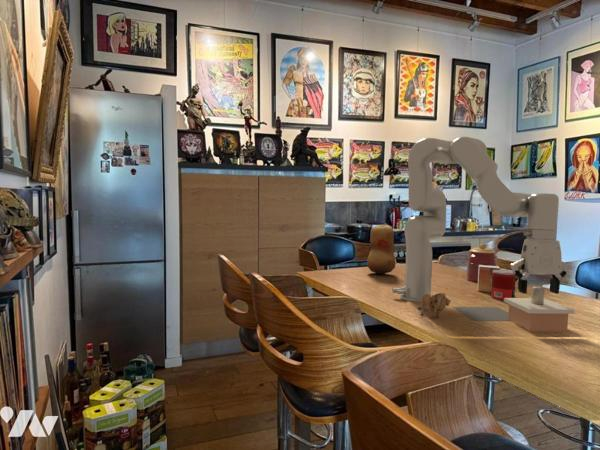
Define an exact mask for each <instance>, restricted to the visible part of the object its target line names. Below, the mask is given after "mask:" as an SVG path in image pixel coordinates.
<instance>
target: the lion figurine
mask: <svg viewBox="0 0 600 450" xmlns="http://www.w3.org/2000/svg"><path fill="white" fill-rule="evenodd" d="M450 304H451V300H450V299H449V298H448V297H446V293H443V292H439V293H435V294H433V296H432V297H431V296H430V295H429V294H425V295H423V297H422V301H421V306H420V307H418V308H417V310H420V315H421V316H423V315H424V312H425V311H426V312H428V311H429V319H434V313H435V318H437V319H438V318H440V317H439V315H440V313H442V312H443V310H444V309H446V307H449V305H450Z"/></svg>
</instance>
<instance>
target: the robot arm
mask: <svg viewBox="0 0 600 450" xmlns="http://www.w3.org/2000/svg"><path fill="white" fill-rule="evenodd" d="M407 163H408V165H407V166H408V167H407V168H408V206H409V208H410V209H411V210H412V211H414V212H418V213H423V215H415V216H412V217H410V218H408V219H407V220H406V222H405V224H404V229H403V230H404V237H405V238H404V239H405V272H404V273H405V274H404V275H405V276H404V277H405V279H404V281H405V282H404V285H402V287H399V288H398V287H392V288H391V292H392V293H393V294H398V295H400V298H401V299H402V300H403V301H411V302H419V303H420V302H421V301H422V297H423V295H425V294H429V295H430V296H431V297H432V296H433V295H434V294H433V295H432V279H433V278H432V275H433V274H432V273H433V272H432V271H433V248H432V247H433V246H432V244H431V241H436V240H439V239H441V238H442V237H443V236H444V234H445V233H446V229H447V199H446V195H445V193H444V192H443V190H442V189H440V188H438V187H433V177H434V176H433V171H432V168H431V165H430V163H434V164H435V163H436V164H443V165H452V164H453V165H457V164H458V165H459V166H460V167H461V168H462V170H464V172H465V173H466V174H467V175H468V176H469V177H470V178H471V179H472V180H473V182H474V184H475V187H476V189H477V192H478V193H479V195H480V197H481V198H482V199H483V200H484V201H485V203H486V204H487V205H488V206H489V207H490V209H492V210H493V211H494V212H495V213H496V214H497V215H499V216H501V217H505V218H525V217H527V226H526V231H523V232H522V234H523V236H524V237H525V236H526V238H525V239H524V240H523V245H522V248H521V249H522V250H521V253H520V259H518V260H515V261H514V262H513V263H512V262H511V263H510V264H509V267H510V268H511V271H513V273H514V274H515V275H516V279H517V280H518V281H517V290H518V292H520V293H521V294H527V293H528V280H527V278H528V277H530V275H542V276H543V275H544V276H545V275H546V276H547V275H550V276H551V278H550V279H549V292H551V293H553V294H557V295H558V294H559V293H560V285H561V281H562V280H563V278H564V277H565V276H566V275H567V272H568V271H569V269H570V265H569V264H567V263H565V262H564V261H562V249H561V243H560V240H557V235H558V233H557V232H558V220H559V219H558V218H559V217H558V216H559V204H560V203H559V196H558V195H557V194H555V193H543V192H542V193H531V194H530V193H523V192H513V191H512V190H511V189H509V188H508V186H506V185H505V184H504V183H503V182H502V180H501V179H500V177H499V176H498V174H497V171H498V163H497V162H496V161H495V160H494V159H493V158H492V157H490V155H489V154H488V149H487V145H486V143H485V142H483V140H481V139H478V138H474V137H470V136H460V137H457V138H455V139H454V140H445V139H440V138H436V137H424V138H422V139H420V140H418V141H417V142H415V143H414V144H413V145H412V147H411V149H410V151H409V153H408V159H407ZM519 267H520V270H519ZM421 303H422V302H421Z"/></svg>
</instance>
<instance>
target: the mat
mask: <svg viewBox="0 0 600 450" xmlns="http://www.w3.org/2000/svg"><path fill="white" fill-rule="evenodd" d="M452 308H453V309H455V310H457V311H458V312H460V313H462V314H463V315H464V316H466V317H467V318H469V319H471V320H473V321H474V322H511V321H510V320H508V315H509V311H506V310H504V309H503V308H500V307H497V306H452Z"/></svg>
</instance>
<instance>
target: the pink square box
mask: <svg viewBox="0 0 600 450" xmlns="http://www.w3.org/2000/svg"><path fill="white" fill-rule="evenodd" d="M508 313H509V315H508V320H510V321H509V322H512V323H513V324H515V325H517V326H519V327H521V328H523V329H525V330H527V331H528V332H564V333H565V332H568V325H569V314H537V313H527V312H525V311H523V310H521V309H519V308H516V307H514V306H512V305H510V304H508Z"/></svg>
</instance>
